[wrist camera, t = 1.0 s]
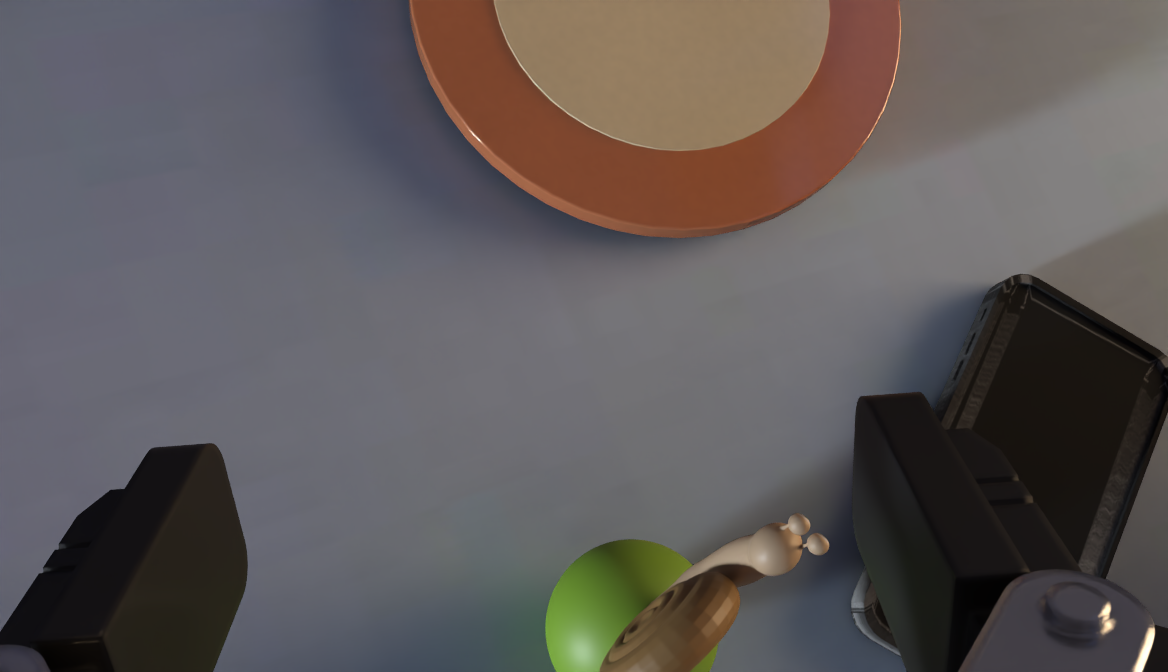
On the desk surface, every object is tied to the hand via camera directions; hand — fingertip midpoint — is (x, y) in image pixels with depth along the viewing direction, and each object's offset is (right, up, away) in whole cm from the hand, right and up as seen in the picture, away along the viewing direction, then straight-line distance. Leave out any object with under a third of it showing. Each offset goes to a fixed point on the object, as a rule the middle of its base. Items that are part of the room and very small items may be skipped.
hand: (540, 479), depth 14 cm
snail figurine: (+2, -8, +23) cm, 25 cm away
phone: (+16, -4, +27) cm, 32 cm away
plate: (+3, +14, +29) cm, 32 cm away
